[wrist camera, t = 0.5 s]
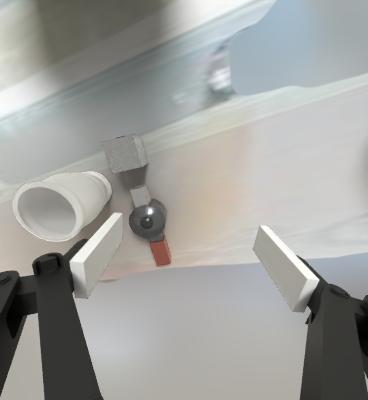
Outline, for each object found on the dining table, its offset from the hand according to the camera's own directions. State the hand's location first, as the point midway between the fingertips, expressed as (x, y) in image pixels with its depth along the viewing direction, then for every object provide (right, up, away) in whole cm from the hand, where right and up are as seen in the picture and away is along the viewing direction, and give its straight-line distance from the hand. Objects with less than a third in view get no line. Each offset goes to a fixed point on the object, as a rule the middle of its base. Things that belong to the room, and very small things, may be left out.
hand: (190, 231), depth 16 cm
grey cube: (-12, +14, +22) cm, 28 cm away
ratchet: (-8, -3, +28) cm, 29 cm away
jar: (-22, +6, +25) cm, 33 cm away
